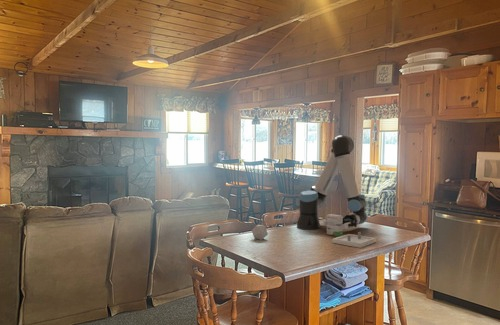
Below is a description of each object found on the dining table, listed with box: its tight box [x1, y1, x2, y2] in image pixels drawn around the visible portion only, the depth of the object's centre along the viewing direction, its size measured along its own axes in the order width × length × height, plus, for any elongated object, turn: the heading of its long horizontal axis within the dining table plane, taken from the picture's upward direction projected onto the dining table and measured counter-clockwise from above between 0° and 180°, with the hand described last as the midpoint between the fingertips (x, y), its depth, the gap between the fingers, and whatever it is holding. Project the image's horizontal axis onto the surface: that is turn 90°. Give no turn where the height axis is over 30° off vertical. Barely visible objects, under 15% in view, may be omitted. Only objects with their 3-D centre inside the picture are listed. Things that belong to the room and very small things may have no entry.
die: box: [251, 224, 269, 241], centre depth 213 cm, size 8×9×10 cm
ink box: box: [326, 213, 344, 237], centre depth 226 cm, size 9×5×12 cm, turn 39°
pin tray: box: [332, 231, 377, 248], centre depth 206 cm, size 16×18×5 cm
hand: (334, 224), depth 224 cm, fingers open, 13 cm apart
